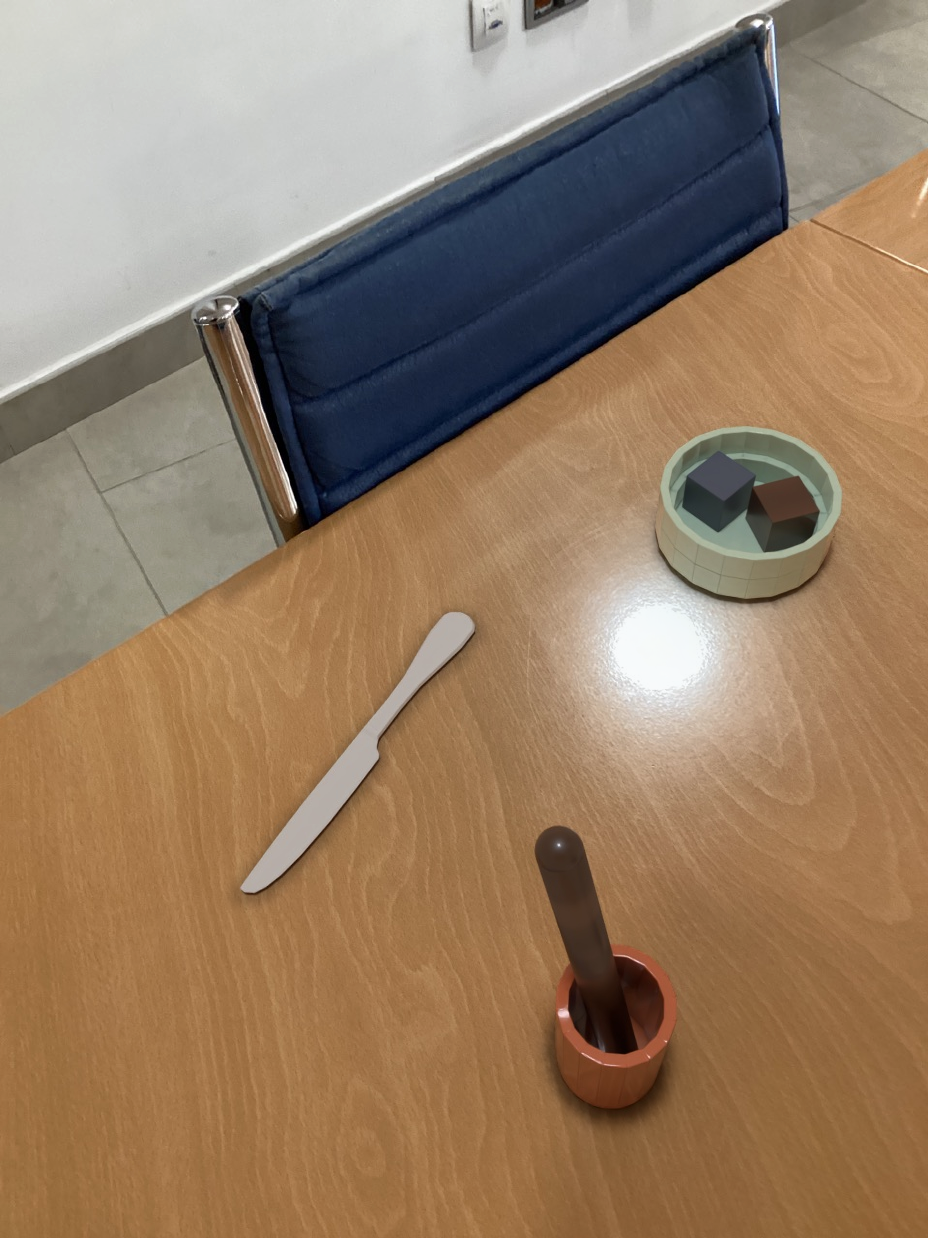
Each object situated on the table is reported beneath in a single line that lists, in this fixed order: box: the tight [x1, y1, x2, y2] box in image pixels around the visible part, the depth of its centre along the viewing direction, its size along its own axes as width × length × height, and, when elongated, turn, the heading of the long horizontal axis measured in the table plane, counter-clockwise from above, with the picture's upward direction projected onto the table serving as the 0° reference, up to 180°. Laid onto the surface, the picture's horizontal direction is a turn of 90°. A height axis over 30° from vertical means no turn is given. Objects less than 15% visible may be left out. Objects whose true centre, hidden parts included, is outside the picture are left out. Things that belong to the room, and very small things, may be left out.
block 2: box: [745, 475, 820, 553], centre depth 75 cm, size 4×4×4 cm
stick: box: [533, 825, 639, 1054], centre depth 49 cm, size 2×2×22 cm
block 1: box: [682, 451, 756, 532], centre depth 77 cm, size 4×4×4 cm
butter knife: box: [239, 611, 476, 894], centre depth 69 cm, size 1×24×3 cm
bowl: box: [654, 425, 843, 600], centre depth 75 cm, size 12×12×5 cm
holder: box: [555, 943, 678, 1110], centre depth 54 cm, size 6×6×10 cm
